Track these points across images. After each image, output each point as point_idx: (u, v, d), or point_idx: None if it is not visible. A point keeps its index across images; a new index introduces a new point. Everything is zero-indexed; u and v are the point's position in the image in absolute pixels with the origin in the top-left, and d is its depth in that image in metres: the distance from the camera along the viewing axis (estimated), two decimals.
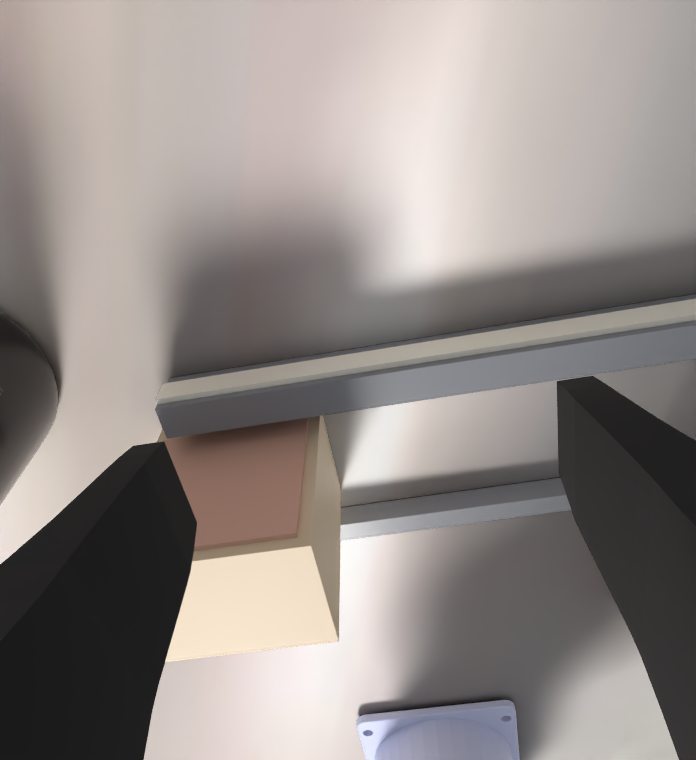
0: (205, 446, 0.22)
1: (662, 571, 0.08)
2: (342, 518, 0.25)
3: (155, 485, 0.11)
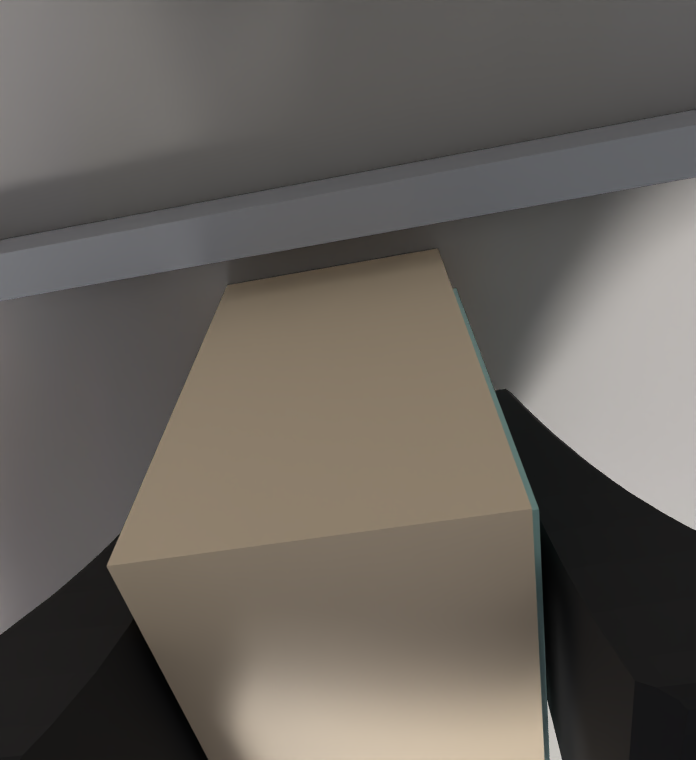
0: None
1: None
2: None
3: None
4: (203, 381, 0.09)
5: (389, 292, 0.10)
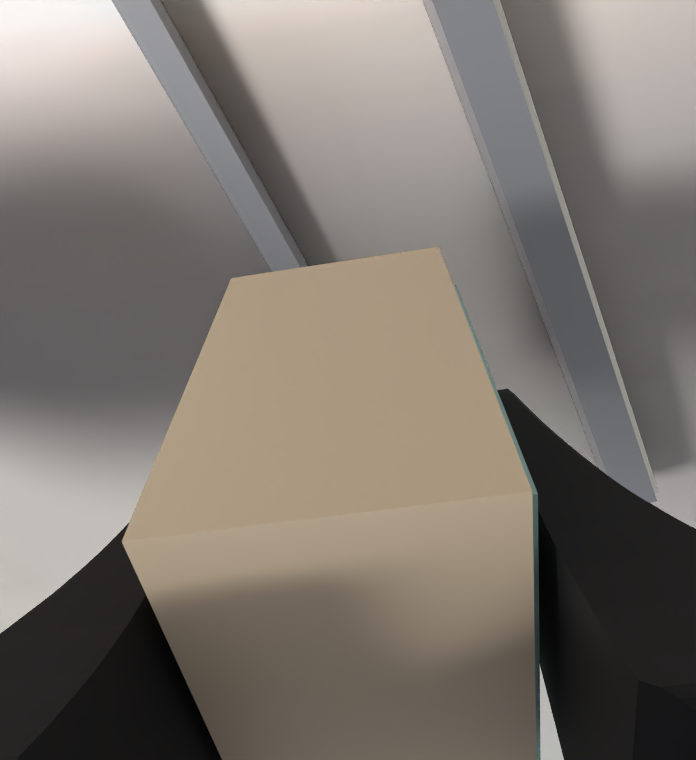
0: None
1: (543, 586, 0.08)
2: None
3: None
4: (210, 369, 0.09)
5: (391, 288, 0.11)
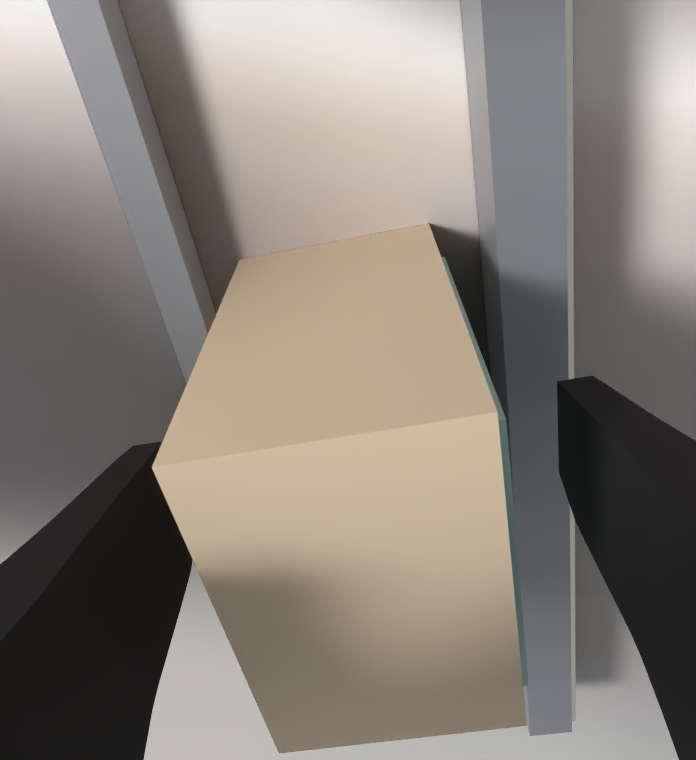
0: None
1: (662, 571, 0.08)
2: None
3: (155, 485, 0.11)
4: (223, 334, 0.10)
5: (384, 260, 0.12)
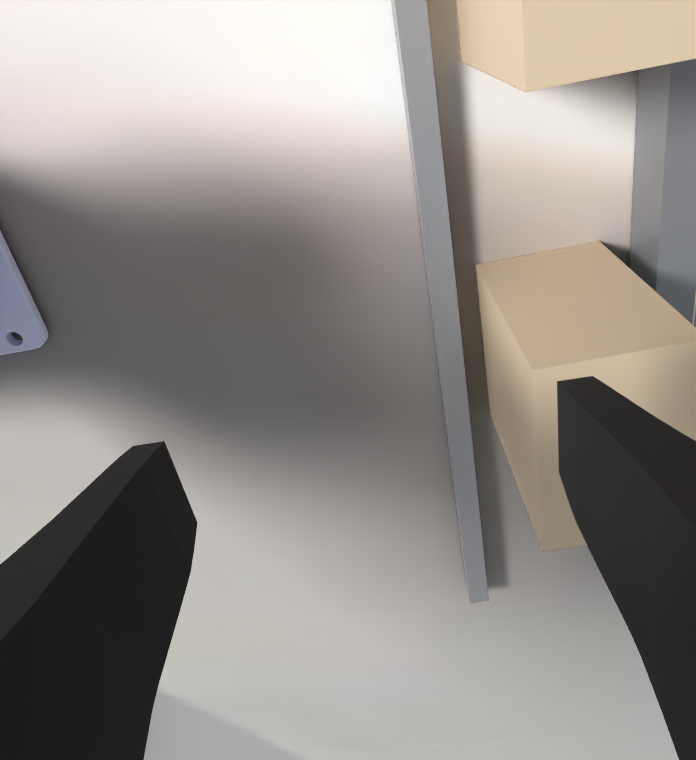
0: None
1: (662, 571, 0.08)
2: None
3: (155, 485, 0.11)
4: (510, 308, 0.18)
5: (585, 264, 0.19)
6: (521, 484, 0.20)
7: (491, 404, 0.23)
